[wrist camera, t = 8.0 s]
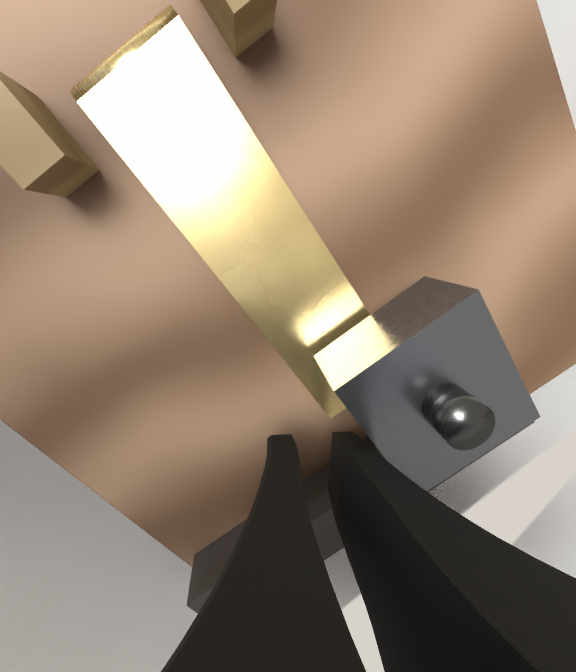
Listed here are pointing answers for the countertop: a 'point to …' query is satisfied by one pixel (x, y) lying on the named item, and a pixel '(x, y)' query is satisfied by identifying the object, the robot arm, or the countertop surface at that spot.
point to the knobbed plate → (429, 380)
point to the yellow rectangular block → (222, 192)
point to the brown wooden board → (319, 206)
